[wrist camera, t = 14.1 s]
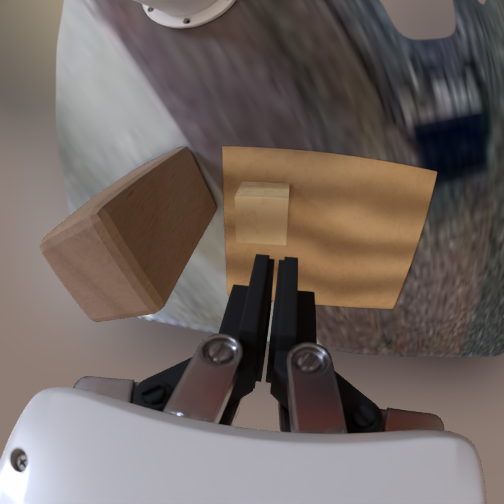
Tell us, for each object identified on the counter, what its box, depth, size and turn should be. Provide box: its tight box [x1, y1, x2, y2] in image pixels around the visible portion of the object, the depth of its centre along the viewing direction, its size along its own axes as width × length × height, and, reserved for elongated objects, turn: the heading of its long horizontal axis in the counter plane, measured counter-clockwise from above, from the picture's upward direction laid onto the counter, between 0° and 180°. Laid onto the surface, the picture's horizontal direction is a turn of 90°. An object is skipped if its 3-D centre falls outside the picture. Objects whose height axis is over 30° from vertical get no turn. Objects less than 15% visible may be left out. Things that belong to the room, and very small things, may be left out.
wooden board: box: [222, 146, 437, 309], centre depth 38 cm, size 24×28×1 cm
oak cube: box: [234, 182, 290, 245], centre depth 35 cm, size 6×6×5 cm
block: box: [40, 147, 216, 322], centre depth 29 cm, size 10×10×20 cm
